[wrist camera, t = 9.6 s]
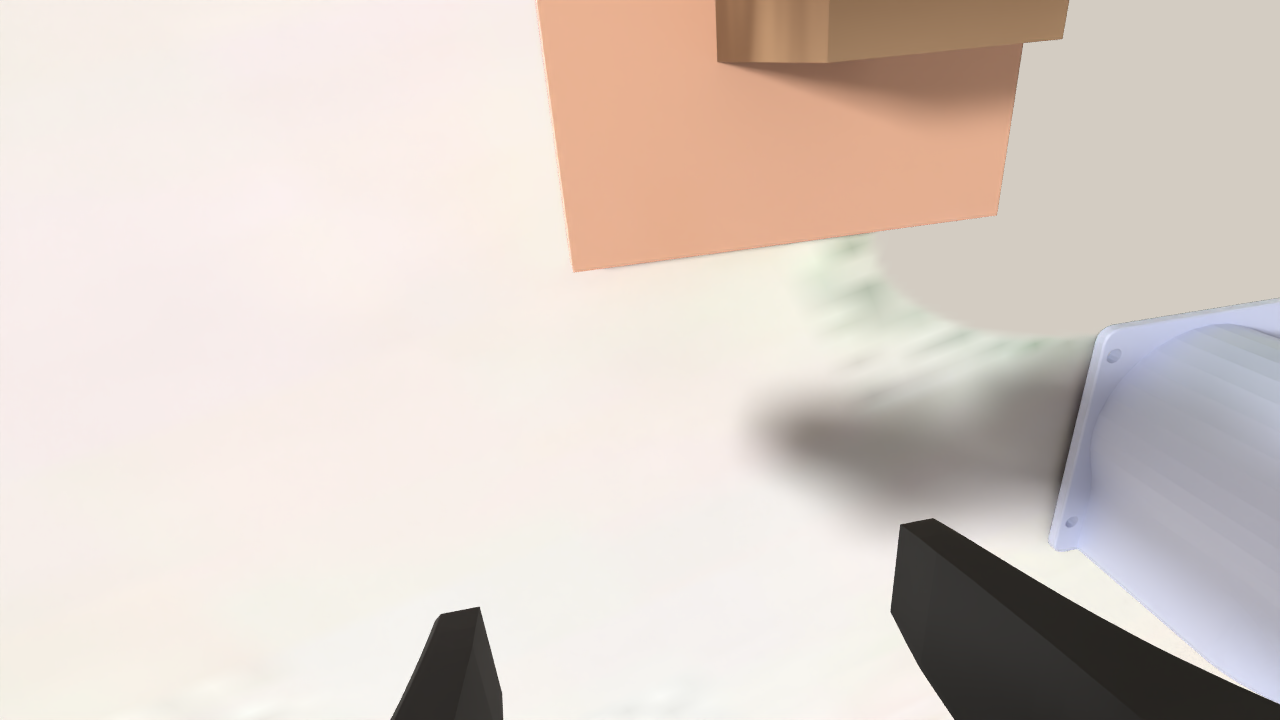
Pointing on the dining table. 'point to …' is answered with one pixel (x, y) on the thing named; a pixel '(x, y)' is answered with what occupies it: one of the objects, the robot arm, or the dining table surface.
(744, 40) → the walnut block
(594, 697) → the dining table surface
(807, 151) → the terracotta tile
